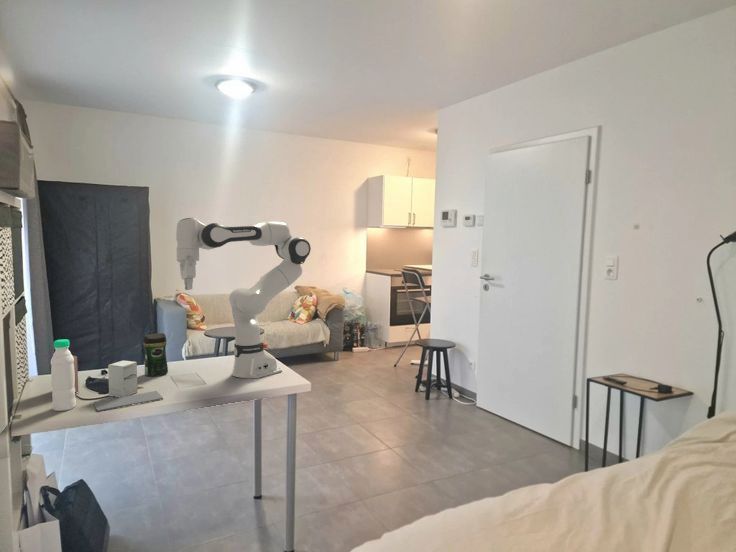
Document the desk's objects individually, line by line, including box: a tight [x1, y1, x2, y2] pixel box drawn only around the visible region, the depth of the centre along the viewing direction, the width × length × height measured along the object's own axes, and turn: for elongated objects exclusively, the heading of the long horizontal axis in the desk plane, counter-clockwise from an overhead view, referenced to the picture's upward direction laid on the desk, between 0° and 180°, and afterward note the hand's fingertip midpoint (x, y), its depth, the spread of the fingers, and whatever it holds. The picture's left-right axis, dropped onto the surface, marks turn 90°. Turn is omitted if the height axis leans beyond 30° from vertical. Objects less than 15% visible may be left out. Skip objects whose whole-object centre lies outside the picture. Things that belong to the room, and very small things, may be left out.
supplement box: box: [107, 360, 138, 398], centre depth 184 cm, size 7×7×13 cm
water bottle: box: [50, 338, 77, 412], centre depth 168 cm, size 7×7×25 cm
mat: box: [92, 390, 164, 413], centre depth 177 cm, size 22×10×1 cm, turn 128°
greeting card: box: [72, 355, 79, 394], centre depth 185 cm, size 11×7×15 cm, turn 42°
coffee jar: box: [143, 332, 169, 377], centre depth 211 cm, size 10×8×19 cm
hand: (188, 289), depth 195 cm, fingers open, 8 cm apart
